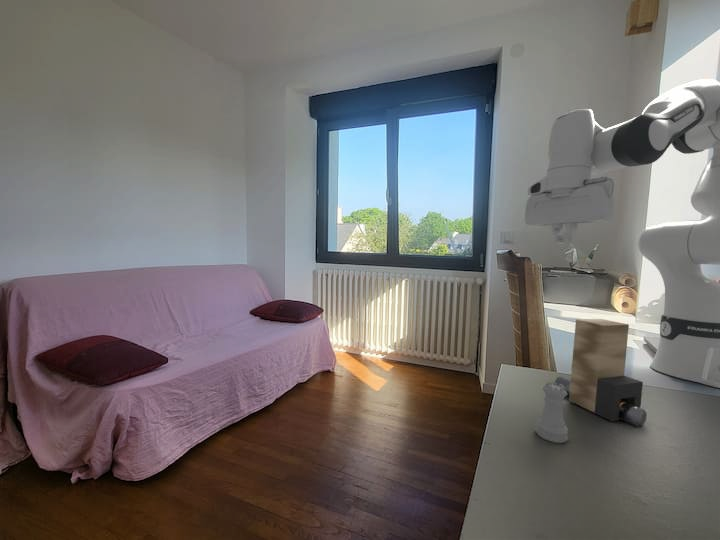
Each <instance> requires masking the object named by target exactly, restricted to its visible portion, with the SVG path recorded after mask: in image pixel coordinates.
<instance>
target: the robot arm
mask: <svg viewBox="0 0 720 540" xmlns="http://www.w3.org/2000/svg"><path fill="white" fill-rule="evenodd" d="M593 112H594V111H593V110H592V109H589V108H583V109H582V108H581V109H575V110H572V111H569V112H567V113H565V114H562V115H561V116H559V117H557V118H556V119H555V120H554V122H553V123H552V127H551V129H550V134H549V142H548V149H547V150H548V151H547V154H548V159H549V162H548V166H547V170H546V176H544V177H542V178H541V179H540V180H538V181H536V182H535V183H533V184H532V185H530V186H529V187H528V188H527V194H528V196H529V197H528V198H527V201H526V203H525V204H526V205H525V210H524V211H525V212H524V221H525V224H526V225H527V227H528V226H529V227H544V226H550V229H551V232H552V234H553V236H554V244H555V245H556V244H563V245H565V244H567V245H568V244H569V245H570V244H571V243H572V237H573V236H574V234H575V232H576V231H577V229H578V226H579V225H578V224H587V223H602V222H611V220H612V219H613V218H614V217H615V197H614V190H615V182H614V180H613V179H612V178H610V177H609V178H608V176H601V177H598V178H592V176H595V175H601V174H605V173H609V172H613V171H614V172H615V171H618V170H622V169H627V168H631V167H639V166H644V165H650V164H653V163H654V162H657V161H658V160H659V159H660V158H661V157H662V156H664V153H665V152H666V151H667V150H668V148H669V147H670V146H671V145H672V146H673V148H674V149H675V150H677V151H678V152H679V153H682V154H685V155H687V154H688V155H689V154H695V153H701V152H703V151H705V150H709V149H713V150H712V152H713V153H712V156H711V158H710V159H709V160H708V163H706V165H705V167H704V169H703V171H702V173H701V174H700V176H699V179H698V181H697V184H696V185H695V188H694V189H693V192H692V194H691V196H690V203H691V205H692V207H693V209H694V210H695V211H697V213H700V214H702V215H704V216H705V217H706V218H704V219H699V220H698V219H697V220H696V219H695V220H678V221H677V220H676V221H675V220H674V221H668V222H663V223H662V222H661V223H658V224H653V225H650V226H647V227H646V228H645V229H644V230H643V231H642V232H641V233H640V236H639V239H638V249H639V252H640V253H641V254H642V256H643V257H644V258H646V259H647V260H648V261H649V262H651V263H652V264H653V265H654V266H655V268H656V269H657V270H658V273H659V274H660V275H661V278H662V280H663V285H664V308H663V309H664V310H663V314H662V315H661V318H660V322H659V323H660V324H659V335H660V337H659V342H658V346H657V349H656V353H655V355H654V357H653V360H652V362H651V363H650V366H649V367H650V368H651V369H653V370H655V371H657V372H659V373H663V374H665V375H668V376H670V377H675V378H678V379H682V380H686V381H691V382H695V383H699V384H702V385H706V386H710V387H714V388H719V389H720V283H718V282H717V281H714V280H712V279H710V278H707V277H706V276H705V275H704V273H703V272H702V268H701V265H715V266H717V265H719V266H720V82H719V81H717V80H715V79H712V78H711V79H709V78H708V79H707V78H706V79H705V78H704V79H699V80H694V81H691V82H688V83H685V84H684V83H683V84H681V85H679V86H676V87H674V88H672V89H669V91H666V92H665V93H662V94H661V95H659V96H658V97H657V98H655V99H653V100H652V101H651V102H650V103H649V104H648V105H647V106H646V107H645V108H644V110H643V111H642V113H641V114H640V115H638V116H635V117H633V118H632V119H629V120H627V121H624V122H622V123H619V124H616V125H613V126H611V127H608V128H604V127H602V126H601V125H599V124H598V122H596V121H595V118H594V113H593ZM563 228H565V229H566V230H565V231H564V234H563V233H562V230H563Z"/></svg>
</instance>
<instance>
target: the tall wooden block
mask: <svg viewBox="0 0 720 540" xmlns="http://www.w3.org/2000/svg"><path fill="white" fill-rule="evenodd" d="M574 326H575V327H574V328H575V329H574V337H573V338H574V339H573V350H572V361H571V362H572V363H571V373H570V380H571V383H570V394H569V395H568V401H569V400H570V401H569V402H571V403H573V404H575V403H576V404H575V405H577V406H580V407H581V408H583V409H586V410H588V411H590V412H593V413H594V414H596V413H595V402H596V391H597V380H598V379H599V378H608V377H617V376H625V369H626V359H627V348H628V339H629V338H628V336H629V329H630V324H628V323H624V322H623V323H622V322H618V321H614V320H607V319H605V318H589V319H587V318H585V319H575V325H574Z"/></svg>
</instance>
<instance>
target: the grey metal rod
mask: <svg viewBox="0 0 720 540" xmlns="http://www.w3.org/2000/svg"><path fill="white" fill-rule="evenodd" d="M554 382H555V383H557V384H556V386H559V384H562V385H563V386H565V391H566V392H567V394H570V383H571V378H570V379H569V378H567V377H565V376H560V375H559V376H558V377H556V379H555V380H554ZM619 419H620V420H623V421H624V422H626V423H629V424H631V425H634V426H636V427H637V428H640V427H642V426H643V425H644V424H646V421H647V412H646V410H645V409H643V408H641V407H640V408H639V407H636V406H634V405H631V404H629V403H626V402H624V401H621V400H620V411H619Z"/></svg>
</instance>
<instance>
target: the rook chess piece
mask: <svg viewBox="0 0 720 540" xmlns="http://www.w3.org/2000/svg"><path fill="white" fill-rule="evenodd" d="M556 384H557V383H555V381H554V382H550V381H548V382H547V381H546V383H545V386H544V387H543V388H542V390H543V392H544V393H545V396H544V397H543V401H544V406H543V410H542V413H541V415H540V416H539V419H537V420H536V422H535V424H536V427H535V432H536V434H537V436H538V437H539V438H542V439H543V440H545V441H547V442H550V443H554V444H564V443H565V442H567V441H568V440H569V435H568V433H569V431H568V430H569V429H568V426H566V422H565V419H564V405H565V401H564V400H565V397H567V396H569V395H568V394H567V392H566V391H565V386H563V385H562V384H559V386H556Z"/></svg>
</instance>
